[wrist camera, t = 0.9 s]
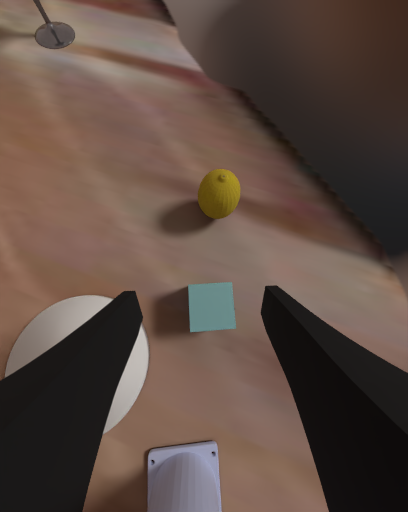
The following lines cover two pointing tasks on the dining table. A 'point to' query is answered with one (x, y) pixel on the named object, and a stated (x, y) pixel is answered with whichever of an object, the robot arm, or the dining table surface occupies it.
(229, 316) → the cube
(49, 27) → the wine glass
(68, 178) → the dining table surface
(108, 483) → the dining table surface
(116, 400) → the plate
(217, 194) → the lemon
